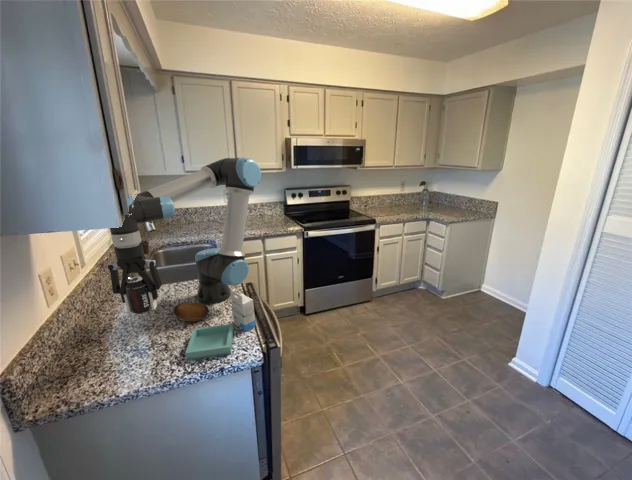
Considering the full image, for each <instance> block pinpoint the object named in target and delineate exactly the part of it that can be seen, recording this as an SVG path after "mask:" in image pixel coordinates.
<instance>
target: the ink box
mask: <svg viewBox="0 0 632 480" xmlns="http://www.w3.org/2000/svg"><path fill="white" fill-rule="evenodd" d="M230 292H231V295H230V301H231V307H232V317H233V323H234V324H233V325H235V326H237V327H238V328H240V329H241V330H243V331H244V332H248V331H250V330H251V329H253V328H255V327H256V318H255V309H254V308H255V305H254V299H252V298H250V297H249V296H247V295H245V294H243V293H237V292H235V291H232V290H231V291H230Z"/></svg>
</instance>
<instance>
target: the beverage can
mask: <svg viewBox="0 0 632 480" xmlns="http://www.w3.org/2000/svg"><path fill="white" fill-rule="evenodd" d="M125 290H126V294H127V298H128V302H129V307H130V310H131V312H130V313H132V314H135V315H143V314H146V313H148V312H150V311H151V310H152V307H151V303H150V298H149V294H148V292H149V291H150V289H149V288H148V286H147V285H146V283H145V282H144V280H143V279H142V277H141V276H140V275H139V274H136V275H135V274H134V275H132V276H129V278H128V280H126V284H125Z"/></svg>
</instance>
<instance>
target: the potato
mask: <svg viewBox="0 0 632 480" xmlns="http://www.w3.org/2000/svg"><path fill="white" fill-rule="evenodd" d="M172 311H173V314H174V315H175V317H176V318H178V319H180V320H182V321H186V322H190V323H191V322H198V321H201V320H202V319H204V318H205V317H206V316H208V315H209V312H210V309H209V307H208V306H207V304H203V303H200V302H183V303H178V304H177V305H175V306H174V308H173V309H172Z"/></svg>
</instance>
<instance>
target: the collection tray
mask: <svg viewBox="0 0 632 480" xmlns="http://www.w3.org/2000/svg"><path fill="white" fill-rule="evenodd" d="M234 330H235V329H234V324H233V323H228V324H227V323H226V324H221V325H213V326H206V327H205V326H204V327H198V328H193V330H192V332H191V336H190V338H189V341H188V345H187V347H186V350H185V352H184V353H185V354H184V355H185V359H186V361H187V362H188V361H189V362H190V361H194V360H202V359H210V358H216V357H222V356H229V355H232V347H233V339H234Z"/></svg>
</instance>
